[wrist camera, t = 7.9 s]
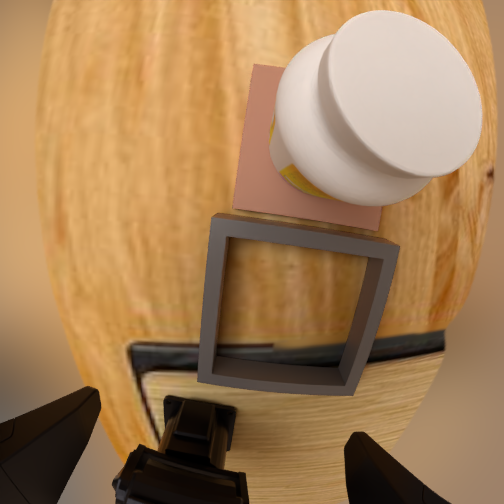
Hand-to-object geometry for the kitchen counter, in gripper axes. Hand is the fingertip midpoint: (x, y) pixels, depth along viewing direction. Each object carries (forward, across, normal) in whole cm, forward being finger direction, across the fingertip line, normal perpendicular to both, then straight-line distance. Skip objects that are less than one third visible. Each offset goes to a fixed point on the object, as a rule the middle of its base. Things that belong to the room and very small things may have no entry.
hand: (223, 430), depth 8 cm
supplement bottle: (+12, -3, -11) cm, 17 cm away
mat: (+13, -3, -11) cm, 17 cm away
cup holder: (+13, -4, 0) cm, 13 cm away
